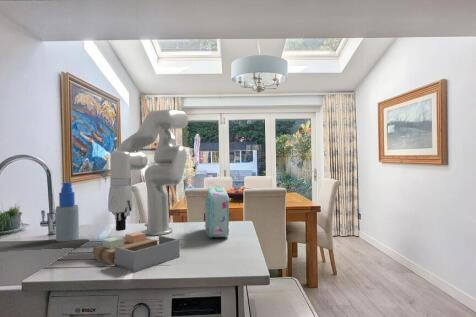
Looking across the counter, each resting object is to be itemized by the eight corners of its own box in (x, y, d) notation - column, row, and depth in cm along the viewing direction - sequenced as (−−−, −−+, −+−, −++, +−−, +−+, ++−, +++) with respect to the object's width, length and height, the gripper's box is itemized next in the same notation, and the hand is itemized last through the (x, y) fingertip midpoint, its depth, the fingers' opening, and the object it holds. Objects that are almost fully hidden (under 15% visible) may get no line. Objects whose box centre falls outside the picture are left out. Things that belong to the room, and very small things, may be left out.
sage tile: (102, 246, 107) (102, 239, 107) (115, 243, 111) (115, 236, 111) (110, 248, 104) (110, 241, 104) (123, 245, 108) (123, 238, 108)
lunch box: (203, 228, 153) (202, 184, 153) (224, 226, 154) (223, 184, 155) (206, 241, 126) (205, 189, 127) (231, 240, 128) (230, 188, 128)
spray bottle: (59, 242, 130) (58, 183, 131) (53, 239, 137) (52, 182, 137) (81, 238, 137) (80, 182, 137) (75, 235, 143) (74, 181, 143)
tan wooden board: (93, 258, 107) (93, 246, 107) (138, 246, 122) (138, 236, 122) (112, 264, 100) (112, 252, 100) (157, 251, 114) (157, 240, 114)
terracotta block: (125, 240, 115) (125, 234, 115) (137, 238, 118) (137, 231, 119) (133, 242, 111) (133, 236, 112) (145, 239, 115) (145, 233, 115)
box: (114, 265, 99) (113, 246, 99) (159, 251, 114) (159, 235, 114) (134, 272, 93) (133, 252, 93) (179, 256, 107) (179, 239, 107)
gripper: (101, 183, 122) (101, 229, 121) (122, 183, 113) (122, 234, 112) (118, 182, 128) (118, 226, 127) (140, 182, 119) (140, 230, 118)
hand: (120, 230), depth 120 cm, fingers closed
